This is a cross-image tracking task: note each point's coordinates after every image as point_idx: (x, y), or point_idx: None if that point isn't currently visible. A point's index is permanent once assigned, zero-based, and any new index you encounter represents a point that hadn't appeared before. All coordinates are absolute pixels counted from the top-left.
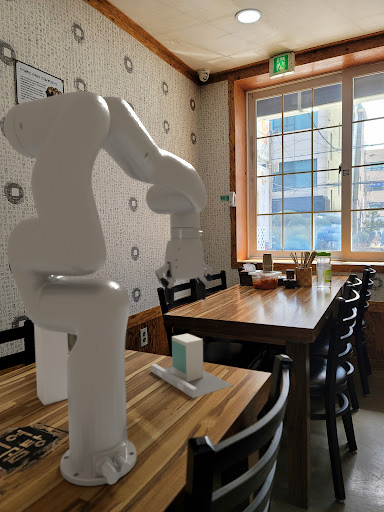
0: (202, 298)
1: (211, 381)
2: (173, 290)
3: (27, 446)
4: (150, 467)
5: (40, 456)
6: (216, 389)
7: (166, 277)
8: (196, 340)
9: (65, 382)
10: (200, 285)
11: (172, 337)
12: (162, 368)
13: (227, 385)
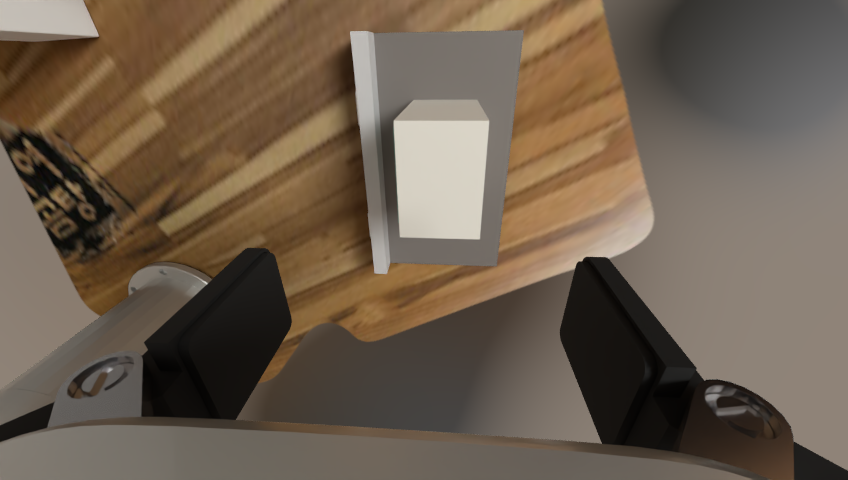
0: (562, 335)
1: None
2: (230, 416)
3: (66, 208)
4: None
5: (98, 246)
6: (447, 260)
7: (21, 452)
8: (449, 237)
9: (35, 34)
10: (617, 423)
11: (394, 125)
12: (369, 102)
13: (484, 260)
